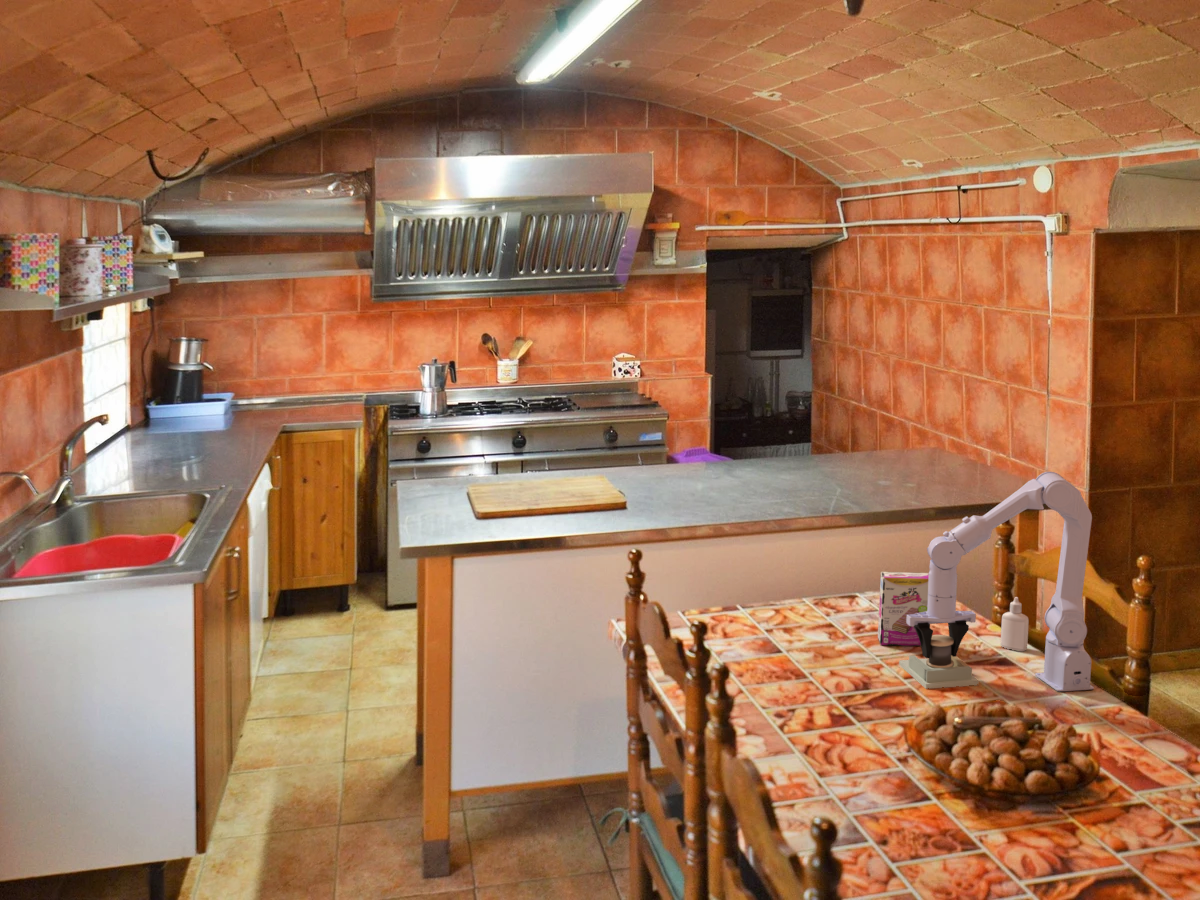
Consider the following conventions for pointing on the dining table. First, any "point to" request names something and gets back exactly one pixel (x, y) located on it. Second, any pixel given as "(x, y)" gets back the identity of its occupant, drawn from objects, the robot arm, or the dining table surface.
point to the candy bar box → (901, 606)
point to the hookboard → (939, 673)
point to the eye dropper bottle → (1014, 628)
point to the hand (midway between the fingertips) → (939, 655)
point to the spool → (940, 652)
